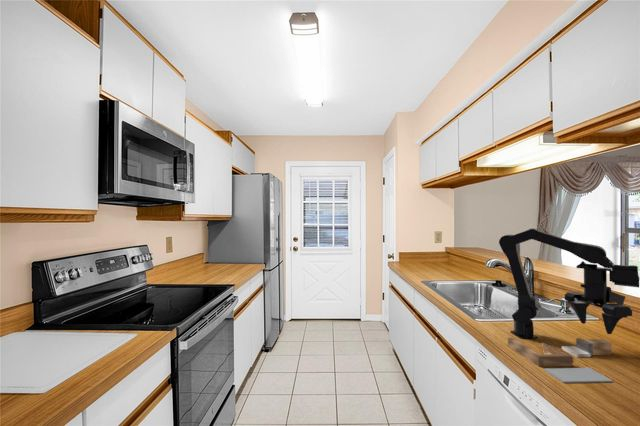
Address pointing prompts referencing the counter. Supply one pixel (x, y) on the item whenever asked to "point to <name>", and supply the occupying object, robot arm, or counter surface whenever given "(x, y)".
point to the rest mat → (577, 375)
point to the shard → (552, 350)
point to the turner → (589, 347)
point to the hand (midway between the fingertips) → (595, 328)
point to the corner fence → (540, 355)
